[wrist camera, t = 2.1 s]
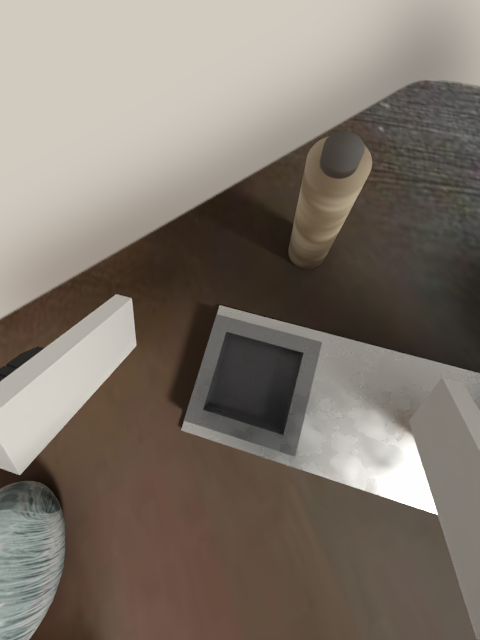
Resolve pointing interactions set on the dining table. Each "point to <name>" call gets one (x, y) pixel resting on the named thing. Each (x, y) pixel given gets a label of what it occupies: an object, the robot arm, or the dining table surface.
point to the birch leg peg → (327, 195)
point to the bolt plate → (318, 403)
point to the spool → (28, 556)
